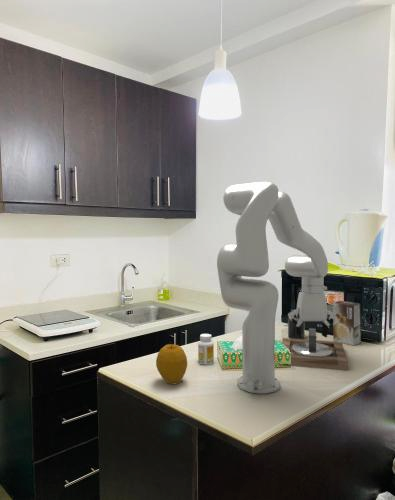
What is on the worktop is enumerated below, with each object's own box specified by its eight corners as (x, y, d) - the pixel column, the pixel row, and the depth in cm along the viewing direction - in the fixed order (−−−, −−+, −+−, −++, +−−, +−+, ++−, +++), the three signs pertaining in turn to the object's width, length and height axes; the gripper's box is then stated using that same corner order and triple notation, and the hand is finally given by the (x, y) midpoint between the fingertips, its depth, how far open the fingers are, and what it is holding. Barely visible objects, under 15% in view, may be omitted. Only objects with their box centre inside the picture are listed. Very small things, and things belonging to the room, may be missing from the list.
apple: (149, 381, 118) (149, 343, 117) (175, 373, 124) (174, 337, 123) (168, 391, 111) (167, 351, 110) (194, 382, 117) (193, 344, 116)
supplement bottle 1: (214, 359, 136) (213, 333, 136) (213, 365, 131) (213, 337, 130) (199, 359, 137) (198, 332, 136) (197, 364, 132) (197, 337, 131)
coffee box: (361, 342, 155) (361, 303, 154) (353, 346, 151) (354, 305, 150) (339, 337, 162) (340, 300, 161) (332, 341, 157) (332, 302, 156)
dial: (331, 347, 144) (331, 328, 143) (334, 360, 130) (334, 338, 130) (292, 345, 147) (292, 325, 147) (291, 357, 134) (291, 336, 133)
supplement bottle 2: (284, 336, 164) (285, 309, 163) (298, 335, 166) (298, 308, 165) (293, 341, 157) (293, 312, 157) (307, 339, 159) (308, 311, 159)
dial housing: (347, 370, 125) (347, 360, 125) (279, 364, 131) (279, 355, 131) (341, 349, 146) (341, 341, 146) (282, 345, 152) (282, 337, 152)
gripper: (331, 288, 142) (330, 333, 142) (285, 288, 140) (284, 334, 141) (340, 291, 134) (339, 339, 135) (292, 291, 133) (291, 339, 133)
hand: (311, 336), depth 138 cm, fingers open, 9 cm apart
